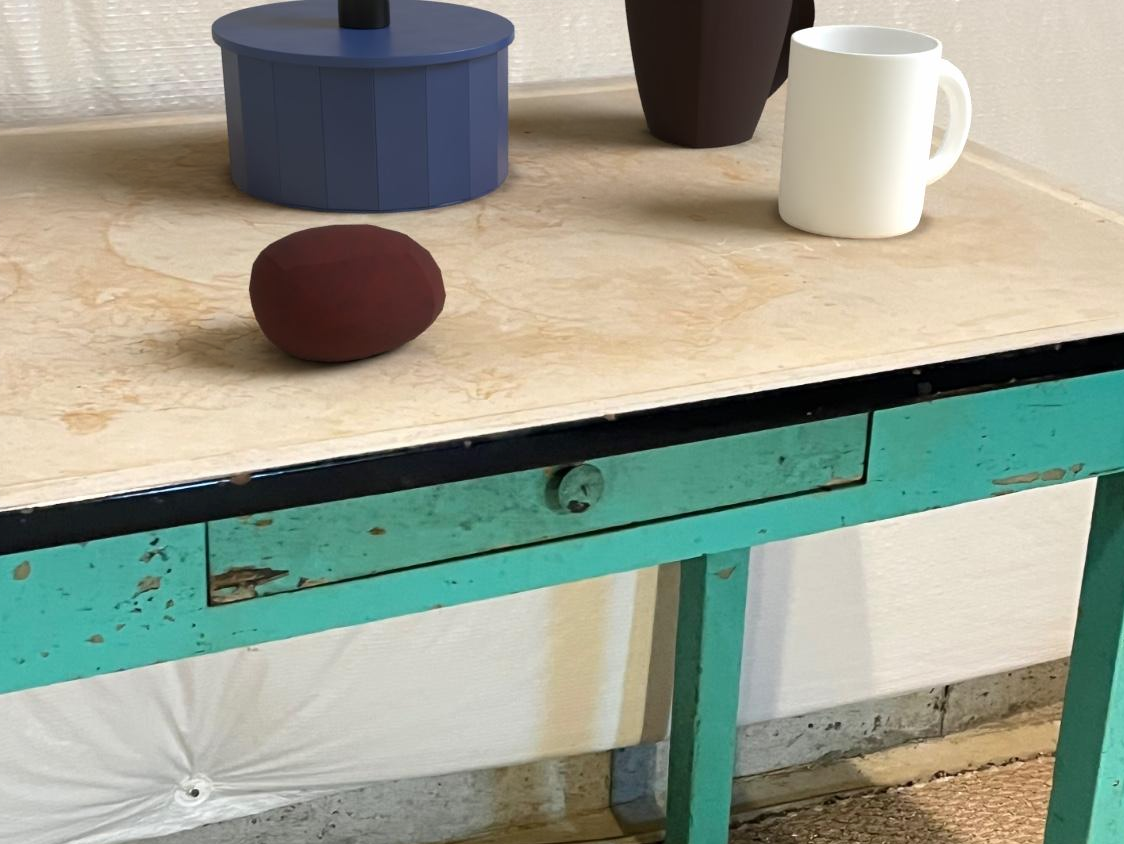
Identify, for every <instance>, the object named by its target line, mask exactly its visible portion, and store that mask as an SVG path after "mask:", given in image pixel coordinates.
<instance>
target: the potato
mask: <svg viewBox="0 0 1124 844" xmlns="http://www.w3.org/2000/svg"><path fill="white" fill-rule="evenodd" d="M444 283H445V282H444V279H443V274H442V270H441V268H440V266H439V265H438V263H437V261H436V259H435V258H434V257H433V255H432V253H431V252H430V251H429V250H428V249H427V248H426V247H424V246H423V245H422V244H420V243H419V242H417V241H416V240H414V239H413V238H412V237H410V236H409V235H408V234H406V233H404V232H401V231H398V230H393V229H390V228H385V227H381V226H378V225H376V224H375V225H374V224H368V223H361V224H360V223H359V224H354V223H353V224H352V223H351V224H331V225H330V224H329V225H323V226H322V225H321V226H315V227H309V228H306V229H302V230H298V231H294V232H291V233H289V234H287V235H285V236H283V237H281V238H279V239H276V240H275V241H273V242H271V243H269V244H268V245H267V246H266V247H264V248H263V249H262V250H261V251H260V252H259V253H258V255H257V256H256V258H255V259H254V261H253V263H252V265H251V271H250V277H249V285H248V293H249V299H250V306H251V309H252V312H253V315H254V318H255V320H256V323H257V324H258V326H259V328H260V329H261V332H262V333H263V334H264V336H265V338H266V339H267V340H268V342H270V343H272V345H274V346H275V347H276V348H277V349H279V350H281V351H283V352H284V353H287V354H288V355H290V356H293V357H295V358H298V359H301V360H306V361H310V362H318V363H319V362H323V363H340V362H347V361H355V360H357V361H358V360H363V359H366V358H369V357H373V356H375V355H379V354H382V353H385V352H389V351H392V350H394V349H397V348H399V347H402V346H403V345H405V344H407V343H410V342H412V341H413V340H415V339H416V338H418V337H419V336H420V335H421V334H423V333H424V332H425V331H426V330H427V329H429V328H430V327H431V326H432V325H433V324H434V323H435V321H437V319H438V317H439V316H440V315H441V313H443V311H444V306H445V302H446V298H447V292H446V288H445V284H444Z"/></svg>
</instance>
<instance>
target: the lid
mask: <svg viewBox="0 0 1124 844" xmlns="http://www.w3.org/2000/svg"><path fill="white" fill-rule="evenodd" d="M515 32H516V29H515V25H514V23H513V22H512V21H511V20H510V19H508V18H507V17H505V16H502V15H500V14H498V13H496V12H492V11H490V10H486V9H481V8H478V7H473V6H469V5H464V4H458V3H450V2H443V1H435V0H291V1H290V0H288V1H278V2H272V3H266V4H260V5H255V6H250V7H246V8H241V9H237V10H234V11H231V12H229V13H226V14H224V15H222V16H220V17H219V18H217V19H216V20H213V23H212V24H211V39H212V40H213V42H214V43H215V44H216V45H217V46H218V47H219V48H220V49H221V48H224V49H226V50H228V51H230V52H233V53H236V54H239V55H243V56H247V57H251V58H255V59H260V60H266V61H272V62H279V63H286V64H295V65H305V66H319V67H339V68H391V67H411V66H424V65H434V64H443V63H450V62H457V61H463V60H468V59H473V58H478V57H482V56H485V55H489V54H492V53H495V52H498V51H500V50H502V49H504V48H506V47H508V48H509V46H510V45H511V44H513V42H514V41H515V37H516V36H515V35H516V33H515Z"/></svg>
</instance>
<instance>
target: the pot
mask: <svg viewBox="0 0 1124 844" xmlns="http://www.w3.org/2000/svg"><path fill="white" fill-rule="evenodd" d="M220 55H221V66H222V69H221V70H222V81H223V91H224V104H225V116H226V117H225V118H226V129H227V130H226V131H227V141H228V151H229V152H228V153H229V154H228V155H229V163H230V164H229V165H230V176H231V180H232V182H233V184H234V185H235V186H236V187H237V188H238V190H239V191H242V192H243V193H245V194H246V195H249V196H250V197H253V198H255V199H258V200H260V201H263V202H266V203H270V204H273V205H279V206H282V207H287V208H293V209H299V210H304V211H313V212H322V213H323V212H324V213H335V214H336V213H338V214H370V215H371V214H372V215H373V214H396V213H411V212H420V211H428V210H434V209H440V208H446V207H451V206H456V205H460V204H463V203H468V202H471V201H474V200H477V199H480V198H483V197H485V196H487V195H489V194H491V193H493V192H495V191H496V190H498V189H499V188H501V186H502V185H503V184H504V183H505V181H506V179H507V176H508V175H509V46H508V47H506V48H504V49H502V50H500V51H498V52H495V53H492V54H489V55H485V56H482V57H478V58H473V59H468V60H463V61H457V62H450V63H443V64H434V65H424V66H411V67H391V68H339V67H319V66H305V65H295V64H286V63H279V62H272V61H266V60H260V59H255V58H251V57H247V56H243V55H239V54H236V53H233V52H230V51H228V50H226V49H224V48H221V47H220Z"/></svg>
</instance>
